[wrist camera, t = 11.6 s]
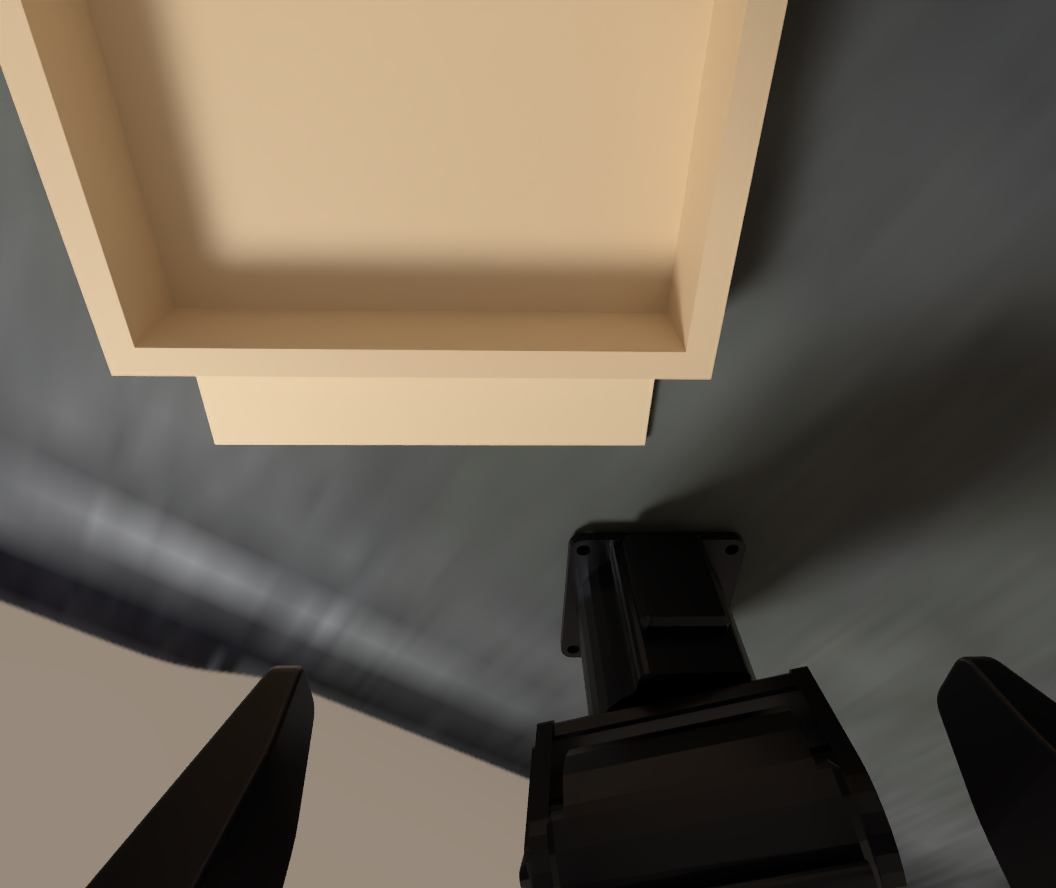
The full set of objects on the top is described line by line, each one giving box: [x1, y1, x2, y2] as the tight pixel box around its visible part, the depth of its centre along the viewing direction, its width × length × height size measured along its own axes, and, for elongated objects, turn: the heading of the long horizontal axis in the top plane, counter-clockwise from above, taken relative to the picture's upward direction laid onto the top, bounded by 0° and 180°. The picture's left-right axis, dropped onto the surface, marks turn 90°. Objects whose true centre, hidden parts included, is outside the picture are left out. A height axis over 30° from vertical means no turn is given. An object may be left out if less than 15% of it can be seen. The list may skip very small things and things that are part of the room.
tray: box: [0, 0, 788, 445], centre depth 13 cm, size 22×16×9 cm
